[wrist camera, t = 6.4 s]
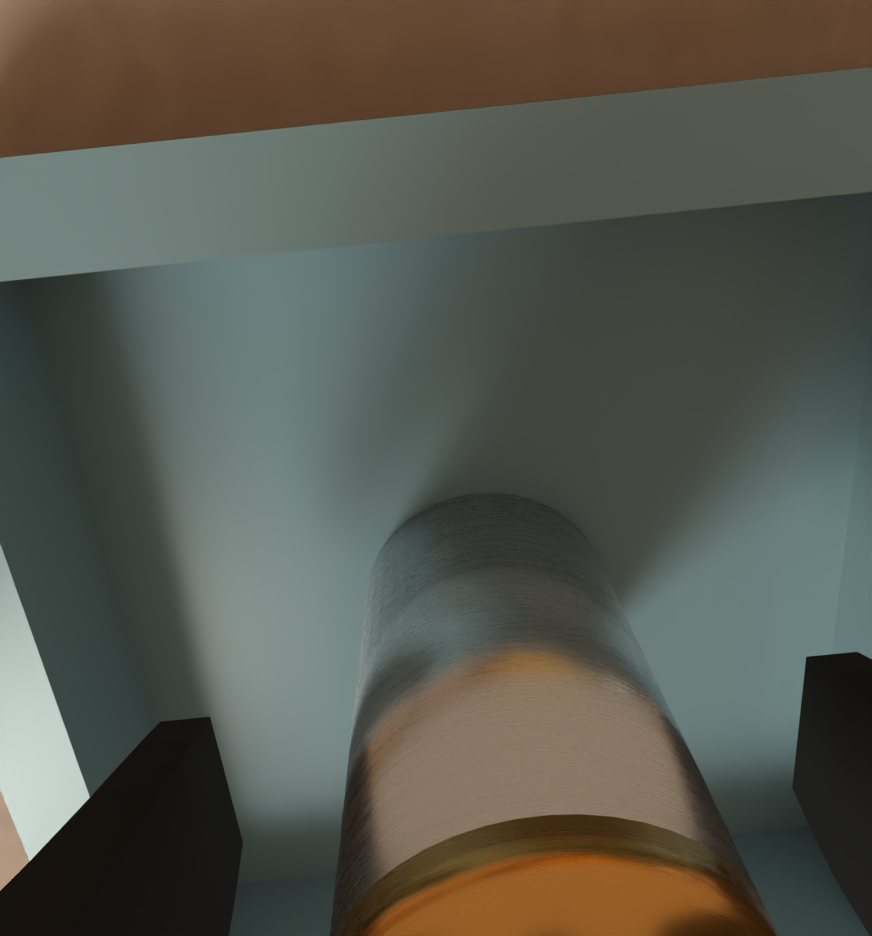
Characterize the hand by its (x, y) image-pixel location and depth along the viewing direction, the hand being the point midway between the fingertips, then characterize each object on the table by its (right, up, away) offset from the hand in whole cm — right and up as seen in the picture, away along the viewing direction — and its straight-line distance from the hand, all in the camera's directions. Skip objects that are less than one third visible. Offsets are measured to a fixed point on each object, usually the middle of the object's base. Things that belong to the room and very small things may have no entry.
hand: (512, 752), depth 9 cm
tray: (0, +2, +4) cm, 4 cm away
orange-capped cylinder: (0, +1, +3) cm, 4 cm away
